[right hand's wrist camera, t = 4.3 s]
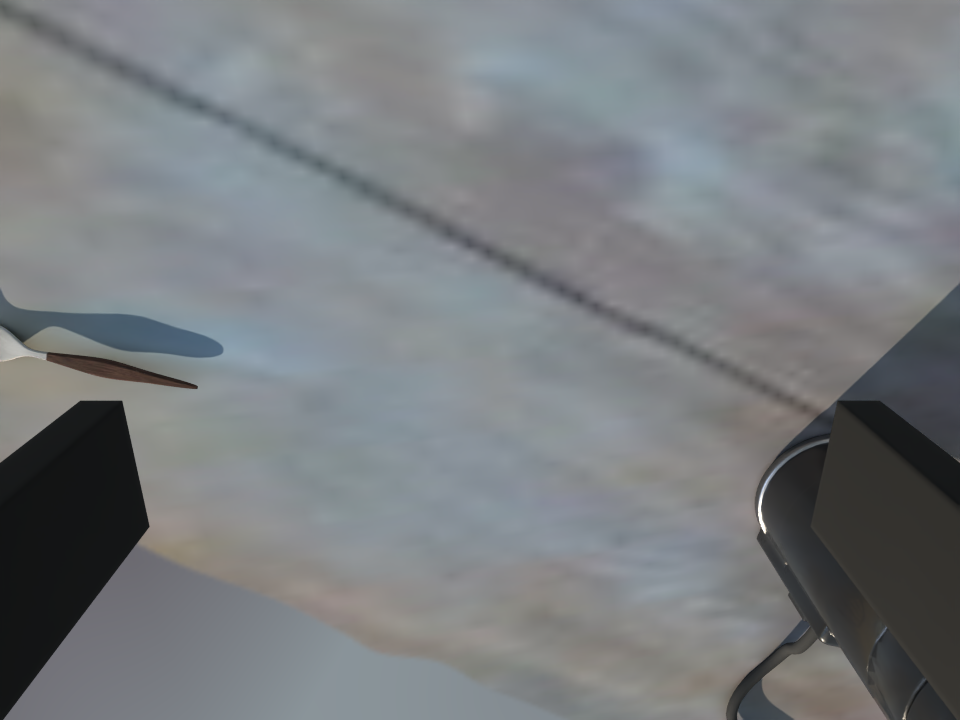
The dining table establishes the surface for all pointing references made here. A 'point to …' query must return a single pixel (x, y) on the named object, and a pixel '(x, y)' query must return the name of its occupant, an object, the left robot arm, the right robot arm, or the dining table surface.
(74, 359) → the fork
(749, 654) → the dining table surface
